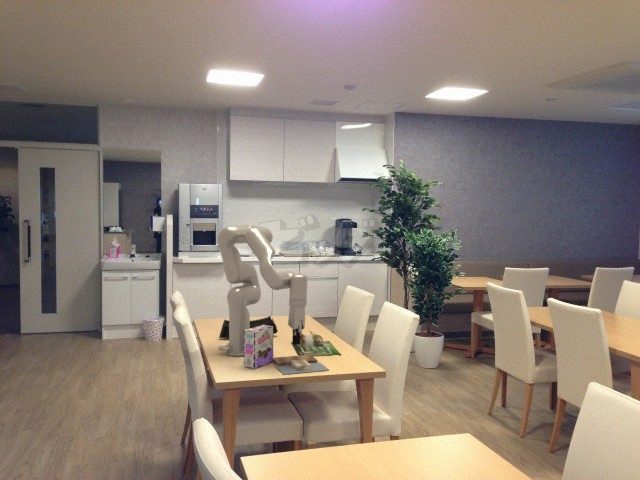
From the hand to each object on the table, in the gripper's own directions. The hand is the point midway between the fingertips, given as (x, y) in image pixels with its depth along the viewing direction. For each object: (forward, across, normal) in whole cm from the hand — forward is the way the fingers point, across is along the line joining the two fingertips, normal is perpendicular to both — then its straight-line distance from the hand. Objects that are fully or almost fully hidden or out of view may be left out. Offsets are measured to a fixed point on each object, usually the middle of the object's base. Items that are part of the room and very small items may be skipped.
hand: (296, 343), depth 246 cm
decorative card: (+10, -26, +18) cm, 33 cm away
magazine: (+12, -56, -8) cm, 58 cm away
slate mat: (+9, +8, +1) cm, 12 cm away
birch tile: (+8, +6, 0) cm, 10 cm away
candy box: (+10, -4, -15) cm, 19 cm away
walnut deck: (+9, -4, +1) cm, 10 cm away
